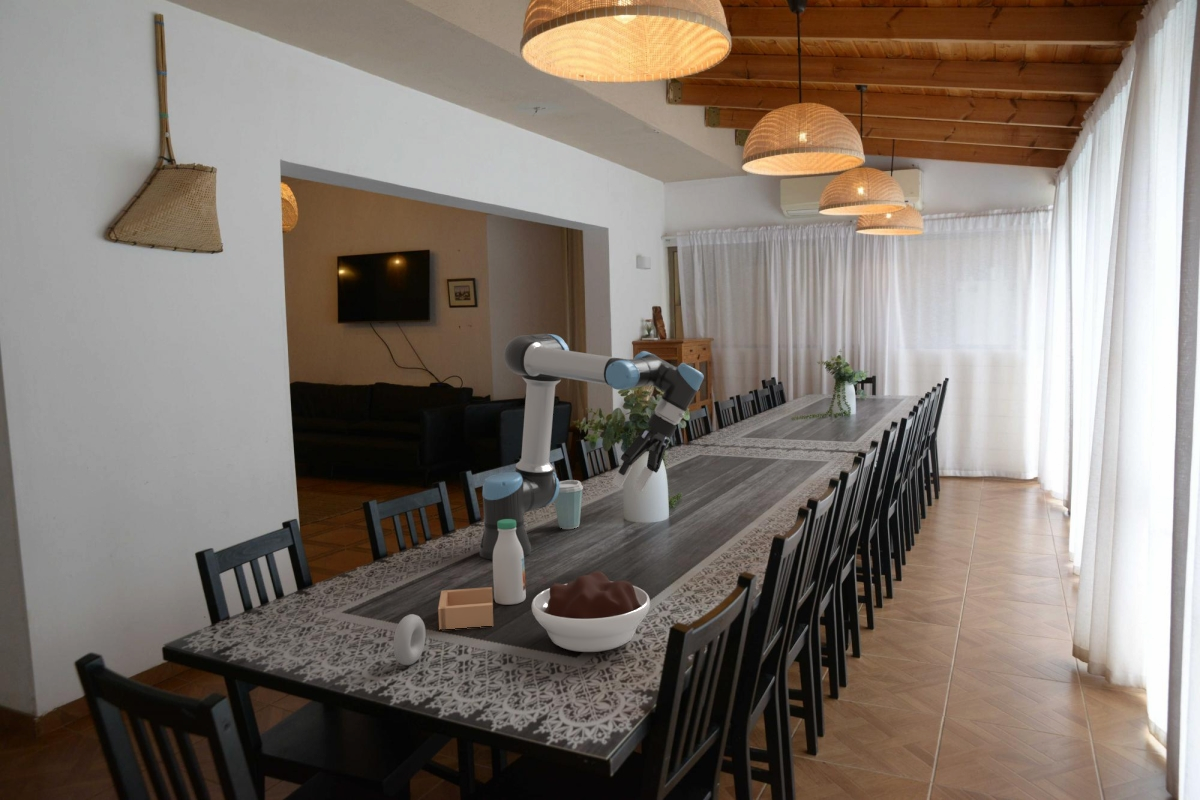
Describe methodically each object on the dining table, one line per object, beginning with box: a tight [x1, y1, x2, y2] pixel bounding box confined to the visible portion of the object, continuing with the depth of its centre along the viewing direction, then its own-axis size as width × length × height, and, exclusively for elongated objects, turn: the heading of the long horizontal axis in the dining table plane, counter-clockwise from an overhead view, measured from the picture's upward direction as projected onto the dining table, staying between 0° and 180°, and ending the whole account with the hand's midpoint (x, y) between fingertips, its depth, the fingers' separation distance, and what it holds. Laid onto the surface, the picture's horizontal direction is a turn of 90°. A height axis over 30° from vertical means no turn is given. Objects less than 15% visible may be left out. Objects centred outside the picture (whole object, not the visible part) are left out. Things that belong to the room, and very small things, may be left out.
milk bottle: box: [492, 519, 527, 606], centre depth 205 cm, size 8×8×20 cm
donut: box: [392, 613, 427, 666], centre depth 169 cm, size 10×4×10 cm, turn 165°
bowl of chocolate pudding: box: [531, 570, 651, 653], centre depth 177 cm, size 25×25×15 cm
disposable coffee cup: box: [553, 479, 584, 530], centre depth 277 cm, size 11×11×15 cm
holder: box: [437, 586, 494, 630], centre depth 194 cm, size 12×13×5 cm
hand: (627, 487), depth 226 cm, fingers open, 13 cm apart
